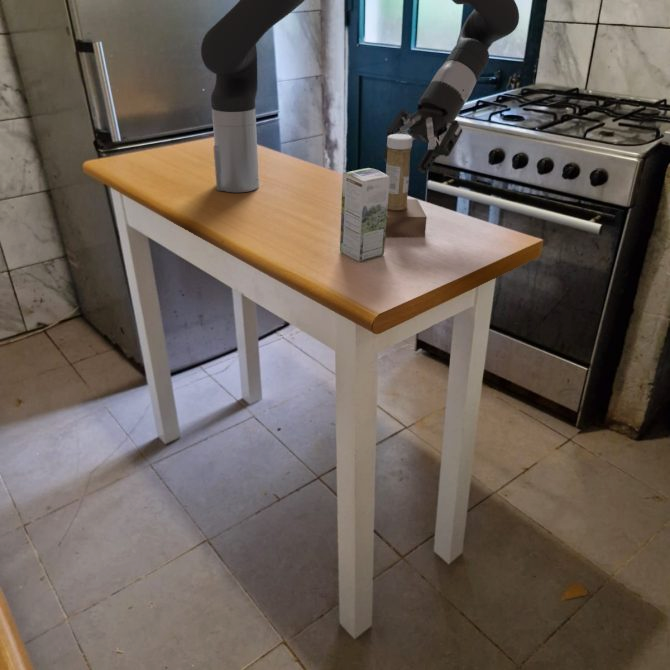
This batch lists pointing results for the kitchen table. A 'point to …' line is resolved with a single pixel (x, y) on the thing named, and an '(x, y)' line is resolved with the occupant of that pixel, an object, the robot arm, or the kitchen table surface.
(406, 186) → the sprinkles bottle
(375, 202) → the syrup box
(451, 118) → the robot arm
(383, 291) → the kitchen table surface
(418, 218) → the plinth
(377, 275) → the kitchen table surface
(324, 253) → the kitchen table surface
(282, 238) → the kitchen table surface
